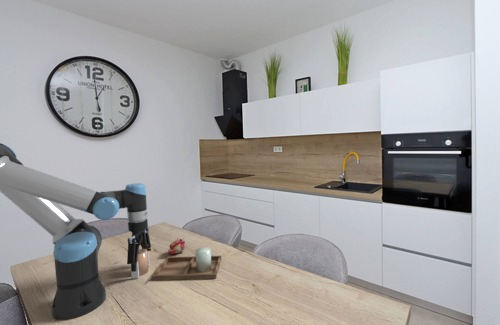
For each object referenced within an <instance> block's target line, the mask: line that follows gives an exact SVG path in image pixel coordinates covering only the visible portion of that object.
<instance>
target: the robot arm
mask: <svg viewBox="0 0 500 325" xmlns="http://www.w3.org/2000/svg"><path fill="white" fill-rule="evenodd" d="M146 192H147V191H146V185H145V184H144V183H141V182H140V183H129V184H126V185H125V189H121V190H109V191H100V192H99V191H96V190H93V189H90V188H87V187H86V186H82V185H79V184H78V183H77V184H76V183H74V182H70V181H68V180H66V179H62V178H59V177H57V176H54V175H51V174H47V173H45V172H42V171H39V170H36V169H33V168H31V167H28V166H25V165H24V164H23V163H22V162H21V161H20V160H19V159H18V158H17V154H16V152H15V151H14V150H13V149H12V148H11V147H9V145H8V146H7V145H6V144H3V143H1V142H0V193H1V194H3V195H4V196H5V197H6V198H7V199H8V200H10V201H11V202H12V203H13V204H14V205H15V206H16V207H18V208H19V209H20V210H21V211H22V212H24V213H25V215H27V216H28V217H30V219H31V220H33V221H34V222H35V223H37V224H38V225H39V227H41V228H42V229H44V231H46V232H47V233H48V234H49V235H50V236H52V244H53V248H54V249H53V257H54V267H55V268H54V269H55V278H56V279H55V280H56V291H55V295H54V298H53V302H52V305H51V315H52V317H53V318H54V319H57V320H69V319H75V318H78V317H81V316H83V315H86V314H88V313H90V312H92V311H95V309H97V308H99V307H100V306H101V305H102V304H103V303H104V302H105V301H106V299H107V292H106V291H107V290H106V288H105V286H104V284H103V283H102V280H101V278H100V275H99V272H100V271H99V261H98V260H99V259H98V256H99V255H98V254H99V251H100V248H101V246H102V240H103V239H102V233H101V231H100V230H99V229H98V228H97V227H95V226H93V225H89V224H88V223H87V222H86V221H85V220H84V219H83V218H75V217H74V216H72V215H71V213H70V212H68V211H67V210H66V209H65V208H64V207H63V206H65V207H68V208H71V209H75V210H79V211H82V212H84V213H88V214H91V215H94V216H95V218H97V219H98V220H101V221H108V220H111V219H112V218H114V217H115V216H116V215H117V214H118V212H119V210H121V209H127V210H126V212H127V213H126V214H127V222H128V223H127V228H128V232H131V238H129V237H128V238H127V258H126V260H127V261H126V262H127V265H130V271H131V274H130V276H131V279H139V278H140V276H139V267H138V262H137V258H138V251H139V249H140V247H141V249H146V250H147V255H148V267H150V266H151V265H150V252H151V251H152V244H151V240H150V234H149V225H148V224H149V223H148V222H149V221H148V209H147V208H148V206H147V193H146Z"/></svg>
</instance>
